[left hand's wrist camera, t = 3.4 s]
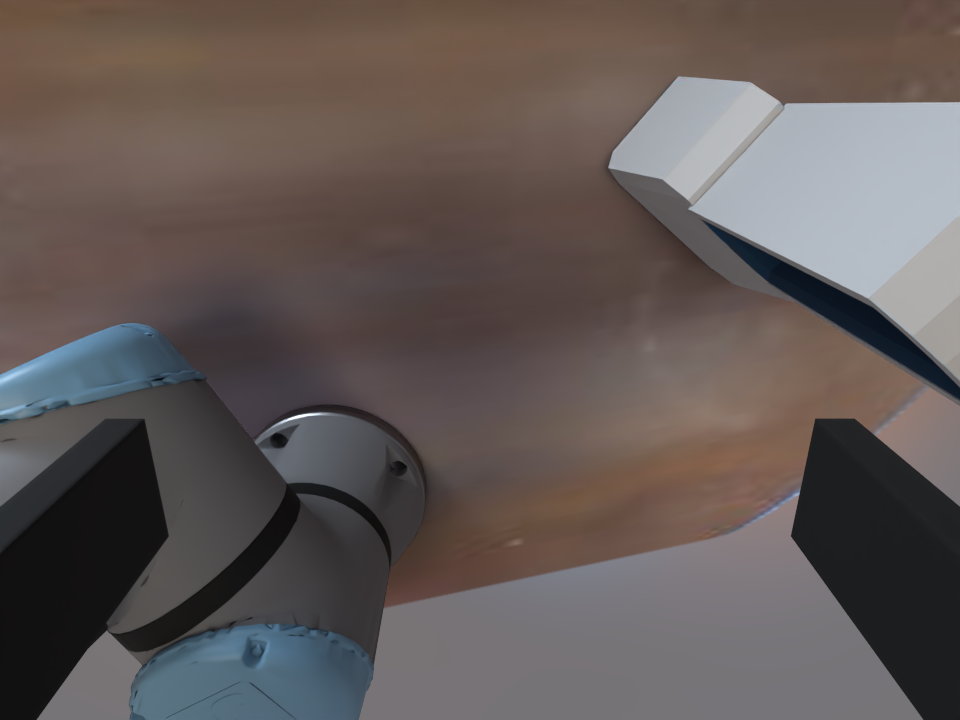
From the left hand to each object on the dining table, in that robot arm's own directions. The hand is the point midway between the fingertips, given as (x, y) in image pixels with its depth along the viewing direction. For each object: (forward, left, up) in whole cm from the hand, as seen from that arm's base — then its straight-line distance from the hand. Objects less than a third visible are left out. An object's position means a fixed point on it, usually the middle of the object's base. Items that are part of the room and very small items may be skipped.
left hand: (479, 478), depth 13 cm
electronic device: (+6, -14, -36) cm, 39 cm away
